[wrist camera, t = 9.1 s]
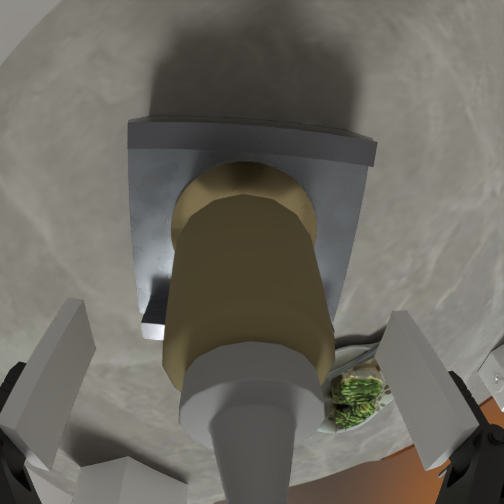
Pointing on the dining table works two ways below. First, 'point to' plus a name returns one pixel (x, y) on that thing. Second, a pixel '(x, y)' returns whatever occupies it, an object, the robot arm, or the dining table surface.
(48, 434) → the robot arm
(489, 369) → the jar
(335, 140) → the grey rimmed block
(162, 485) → the white notched stand
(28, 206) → the dining table surface
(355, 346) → the avocado toast plate
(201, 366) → the squeeze bottle
